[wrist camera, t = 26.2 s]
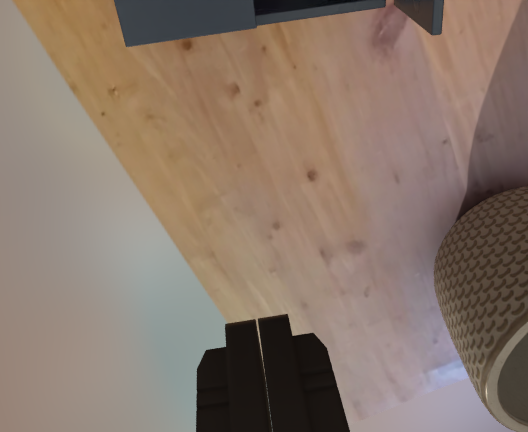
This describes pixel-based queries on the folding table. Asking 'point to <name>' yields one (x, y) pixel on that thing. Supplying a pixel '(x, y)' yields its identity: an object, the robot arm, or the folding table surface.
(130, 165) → the folding table surface
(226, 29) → the box flap
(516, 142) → the folding table surface
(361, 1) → the bin
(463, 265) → the planter
